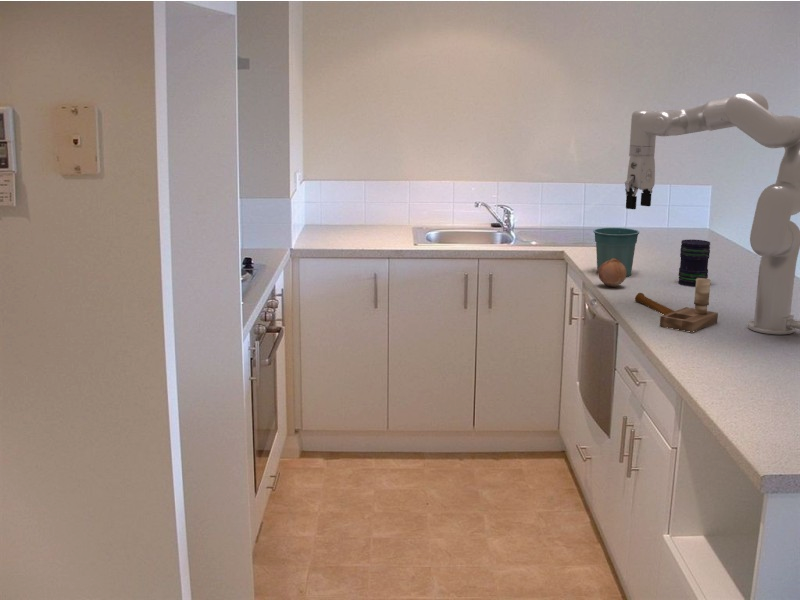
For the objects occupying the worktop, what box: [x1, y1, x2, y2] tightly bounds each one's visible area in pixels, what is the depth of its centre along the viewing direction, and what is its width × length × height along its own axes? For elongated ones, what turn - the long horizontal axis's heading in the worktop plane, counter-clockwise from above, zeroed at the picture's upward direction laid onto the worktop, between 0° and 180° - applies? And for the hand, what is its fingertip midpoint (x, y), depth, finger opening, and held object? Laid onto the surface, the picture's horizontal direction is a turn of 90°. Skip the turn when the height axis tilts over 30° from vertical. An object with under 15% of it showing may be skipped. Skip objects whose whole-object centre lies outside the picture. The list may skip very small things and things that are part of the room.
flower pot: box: [593, 227, 641, 277], centre depth 344 cm, size 16×16×16 cm
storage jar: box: [677, 239, 711, 288], centre depth 329 cm, size 10×10×15 cm
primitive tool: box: [634, 292, 675, 315], centre depth 294 cm, size 19×6×4 cm, turn 22°
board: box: [659, 306, 719, 333], centre depth 275 cm, size 10×16×3 cm, turn 137°
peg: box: [693, 278, 711, 314], centre depth 275 cm, size 4×4×10 cm
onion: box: [597, 258, 627, 288], centre depth 324 cm, size 10×9×10 cm
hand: (638, 207), depth 293 cm, fingers open, 9 cm apart
